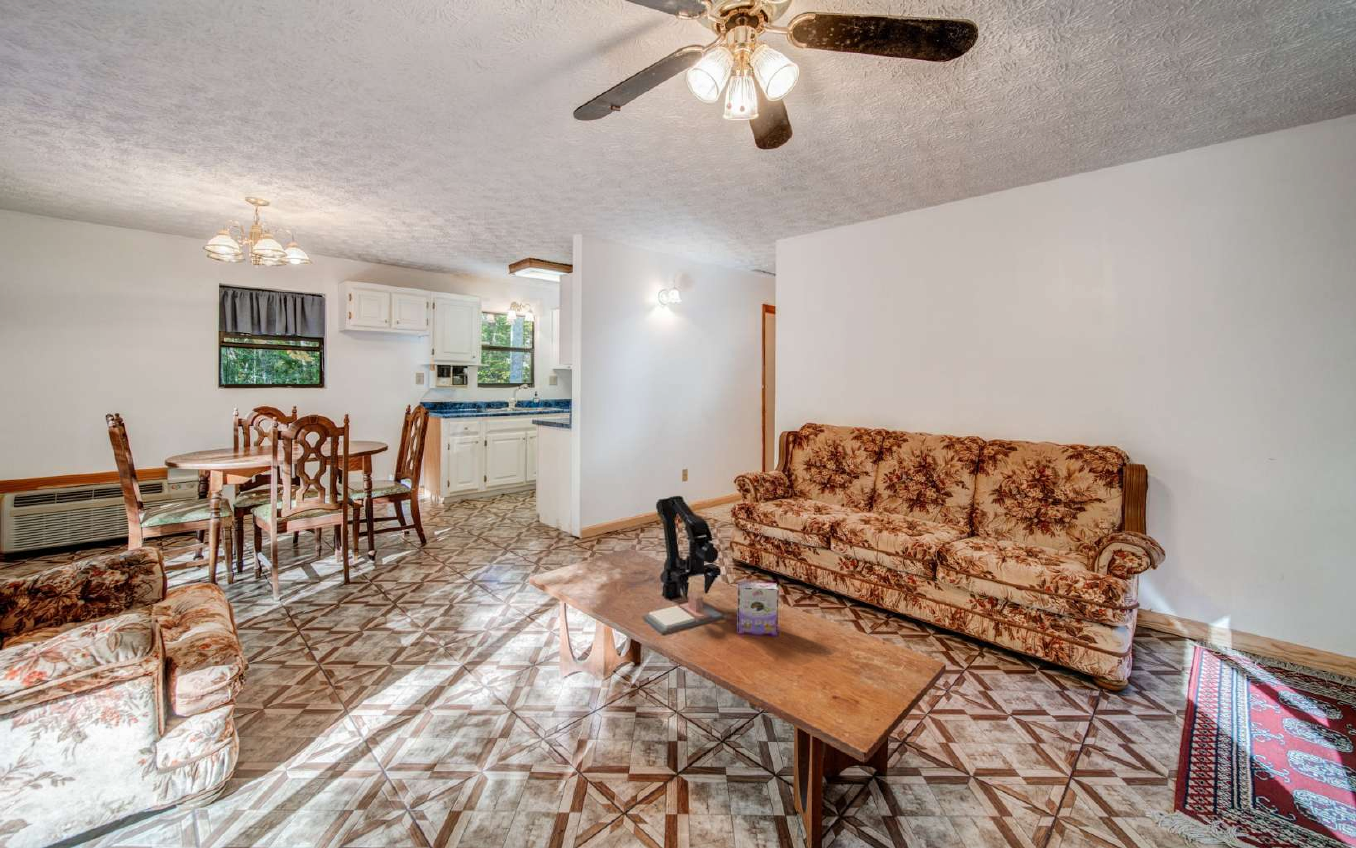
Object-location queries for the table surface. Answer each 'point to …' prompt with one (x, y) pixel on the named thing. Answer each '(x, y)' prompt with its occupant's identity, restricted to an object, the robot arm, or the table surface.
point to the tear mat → (660, 629)
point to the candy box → (757, 608)
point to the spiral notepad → (671, 617)
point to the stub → (695, 607)
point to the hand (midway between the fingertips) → (695, 595)
